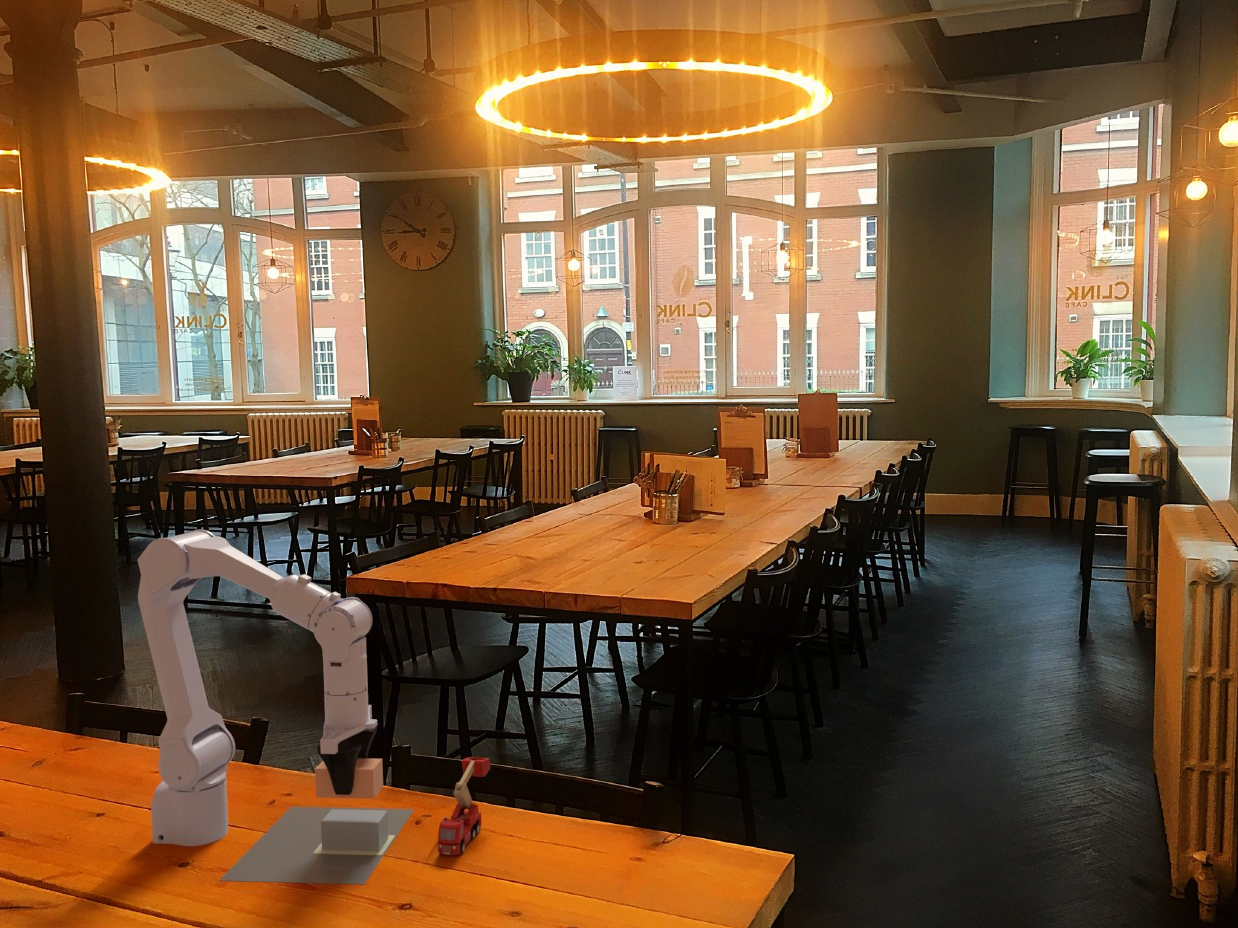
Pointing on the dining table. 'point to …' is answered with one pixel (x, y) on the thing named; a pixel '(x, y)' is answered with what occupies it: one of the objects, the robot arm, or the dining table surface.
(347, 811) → the slate brick
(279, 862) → the baseplate
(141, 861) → the dining table surface
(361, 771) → the terracotta brick
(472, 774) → the toy fire truck
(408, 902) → the dining table surface
